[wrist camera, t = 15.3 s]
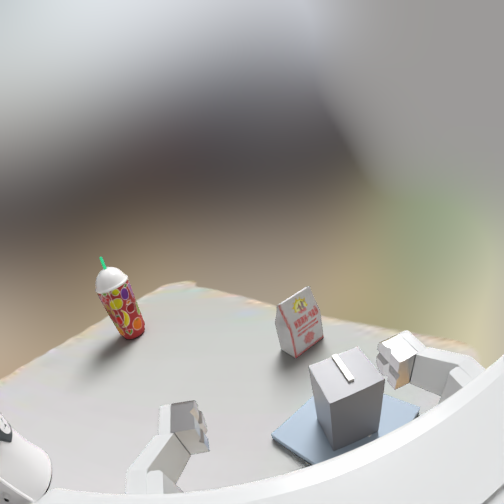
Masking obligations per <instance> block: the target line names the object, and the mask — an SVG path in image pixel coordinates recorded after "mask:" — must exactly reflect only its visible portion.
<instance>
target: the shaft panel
mask: <svg viewBox="0 0 504 504" xmlns="http://www.w3.org/2000/svg"><path fill="white" fill-rule="evenodd" d="M419 409H420V407H418V406H415V405H413V404H410V403H407V402H404V401H402V400H399V399H396V398H394V397H391V396H388V395H386V394H383V401H382V409H381V416H380V423H379V429H378V431H377V432H375V433H373V434H371V435H369V436H367V437H365V438H363V439H361V440H359V441H356V442H354V443H352V444H350V445H347V446H345V447H343V448H340V449H338V450H335V451H333V449H332V447H331V445H330V443H329V441H328V439H327V437H326V435H325V433H324V431H323V429H322V427H321V425H320V423H319V421H318V419H317V415H316V408H315V402H314V396H312V397H311V398H310V399H309V400H308V401H307V402H306V403H305V404H304V405H303V406H302V407H301V408H300V409H299V410H297V411H296V412H295V413H294V414H293V415H292V416H291V417H290V418H289V419H288V420H286V421H285V422H284V423H283V424H282V425H281V426H280V427H279V428H277V429H276V430H275V431H274V432H273V433H272V434H271V435H272V438H273V439H274V440H276V441H277V442H279V443H280V444H281V445H283V446H284V447H286V448H287V449H289V450H290V451H292V452H293V453H295V454H296V455H298V456H299V457H301V458H302V459H304V460H306V461H307V462H309V463H310V464H312V465H315V464H318V463H320V462H323V461H326V460H329V459H331V458H334V457H336V456H339V455H342V454H344V453H346V452H349V451H351V450H354V449H356V448H358V447H360V446H363V445H365V444H367V443H369V442H371V441H374V440H376V439H378V438H380V437H382V436H384V435H386V434H388V433H390V432H392V431H394V430H396V429H397V428H399V427H401V426H403V425H405V424H407V423H408V422H410V421H412V420H414V419H415V418H416V416H417V414H418V413H419Z"/></svg>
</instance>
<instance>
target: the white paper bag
mask: <svg viewBox="0 0 504 504" xmlns="http://www.w3.org/2000/svg"><path fill="white" fill-rule="evenodd" d="M275 326H276V330H277V334H278V338H279V342H280V346H281V350H283V351H285V352H286V353H288V354H289V355H291V356H293V357H294V358H297V357H298V356H299V355H301V354H302V353H303V352H305V351H306V350H307V349H309V348H310V347H311V346H313V345H314V344H315V343H316V342H318V341H319V340H320V339H322V338H323V337H324V336H323V329H322V322H321V314H320V309H319V307H318V305H317V303H316V301H315V299H314V297H313V294H312V292H311V289H310V286H309V287H308V286H307V287H305V288H303V289H302V290H300V291H299V292H297V293H296V294H294V295H292V296H291V297H289V298H288V299H286V300H285V301H283V302H281V303H280V304H278V305H277V314H276V319H275Z"/></svg>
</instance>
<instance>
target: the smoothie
mask: <svg viewBox="0 0 504 504" xmlns="http://www.w3.org/2000/svg"><path fill="white" fill-rule="evenodd" d="M100 261H101V263H102V266H103V268H104V269H103V270H102V271H101V272H100V273H99V274H98V276H97V278H96V289H95V291H96V293H97V294H98V296H99V298H100V300H101V302H102V304H103V305H104V307H105V309H106V311H107V312H108V314H109V316H110V318H111V319H112V321H113V323H114V325H115V326H116V328H117V330H118V331H119V333H120V334H121V335H122V336H124V337H125V338H126V339H134V338H136V337H138V336H140V335H141V334H142V333H143V332H144V330H145V328H144V325H145V323H144V320H143V318H142V315H141V312H140V310H139V307H138V305H137V302H136V299H135V297H134V294H133V291H132V288H131V285H130V283H129V280H128V277H127V275H125V274H124V273H123V272H122V271H121V270H119V269H118V268H115V267H107V268H106V266H105V263H104V261H103V258H102V257H100Z"/></svg>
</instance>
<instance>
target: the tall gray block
mask: <svg viewBox="0 0 504 504" xmlns="http://www.w3.org/2000/svg"><path fill="white" fill-rule="evenodd" d="M309 372H310V378H311V384H312V390H313V396H314V402H315V408H316V415H317V419H318V421H319V423H320V425H321V427H322V429H323V431H324V433H325V435H326V437H327V439H328V441H329V443H330V445H331V447H332V449H333V451H335V450H338V449H340V448H343V447H345V446H347V445H350V444H352V443H354V442H356V441H359V440H361V439H363V438H365V437H367V436H369V435H371V434H373V433H375V432H377V431H378V429H379V423H380V416H381V409H382V401H383V393H384V383H385V378H384V377H383V376H382V375H381V373H380V372H379V371H378V370H377V368H376V367H375V366H374V365H373V364H372V362H371V361H370V360H369V359H368V358H367V356H366V355H365V354H364V353H363V352H362V350H361V349H360V348H359V347H358V346H357V347H354V348H352V349H350V350H347V351H345V352H342V353H340V354H338V355H337V354H334V355H332V357H330V358H327V359H325V360H322V361H320V362H317V363H314V364H312V365H309Z"/></svg>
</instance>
